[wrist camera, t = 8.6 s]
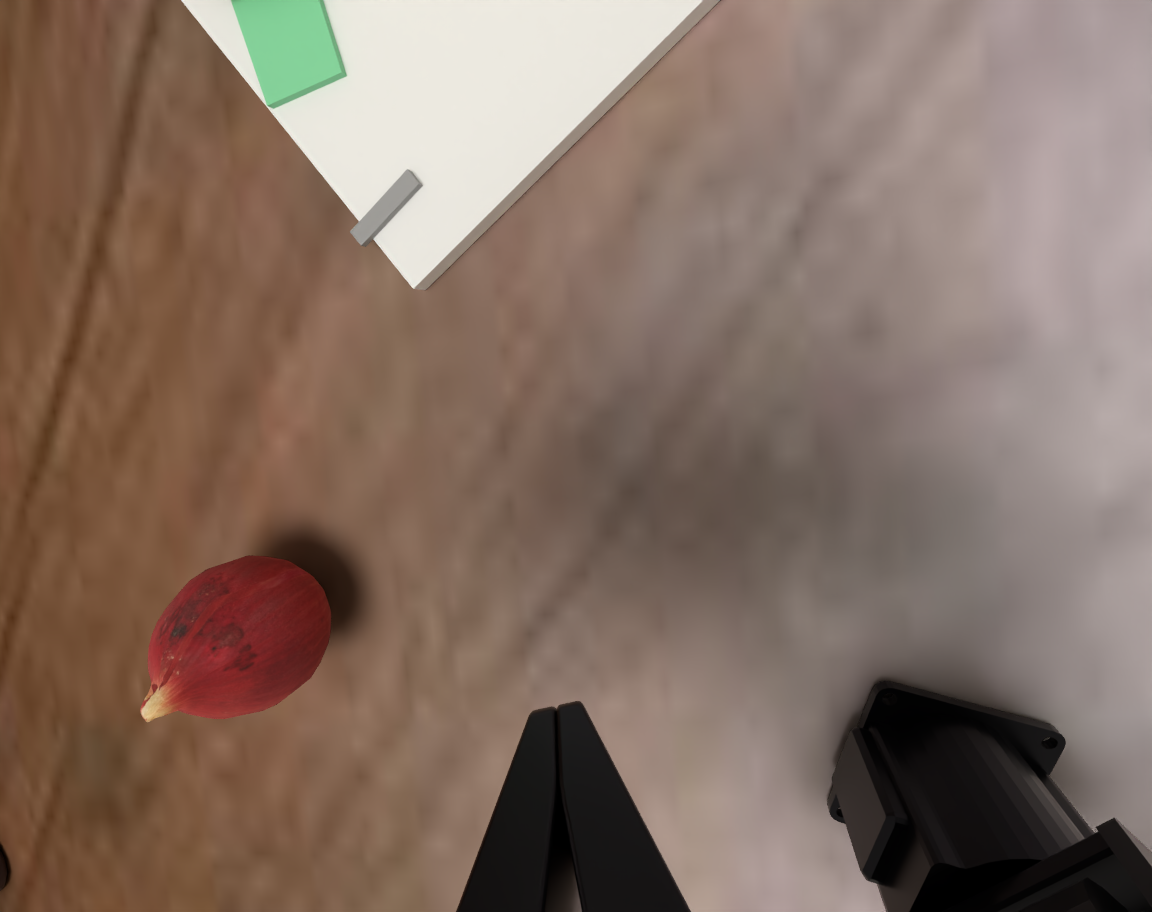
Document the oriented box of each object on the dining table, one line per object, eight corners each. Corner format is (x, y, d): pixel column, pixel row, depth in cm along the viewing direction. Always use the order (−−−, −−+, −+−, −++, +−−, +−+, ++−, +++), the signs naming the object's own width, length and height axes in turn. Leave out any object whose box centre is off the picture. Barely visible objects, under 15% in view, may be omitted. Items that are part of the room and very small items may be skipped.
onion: (247, 521, 25) (53, 612, 17) (364, 536, 24) (214, 641, 16) (259, 635, 26) (86, 765, 19) (370, 654, 25) (235, 800, 18)
